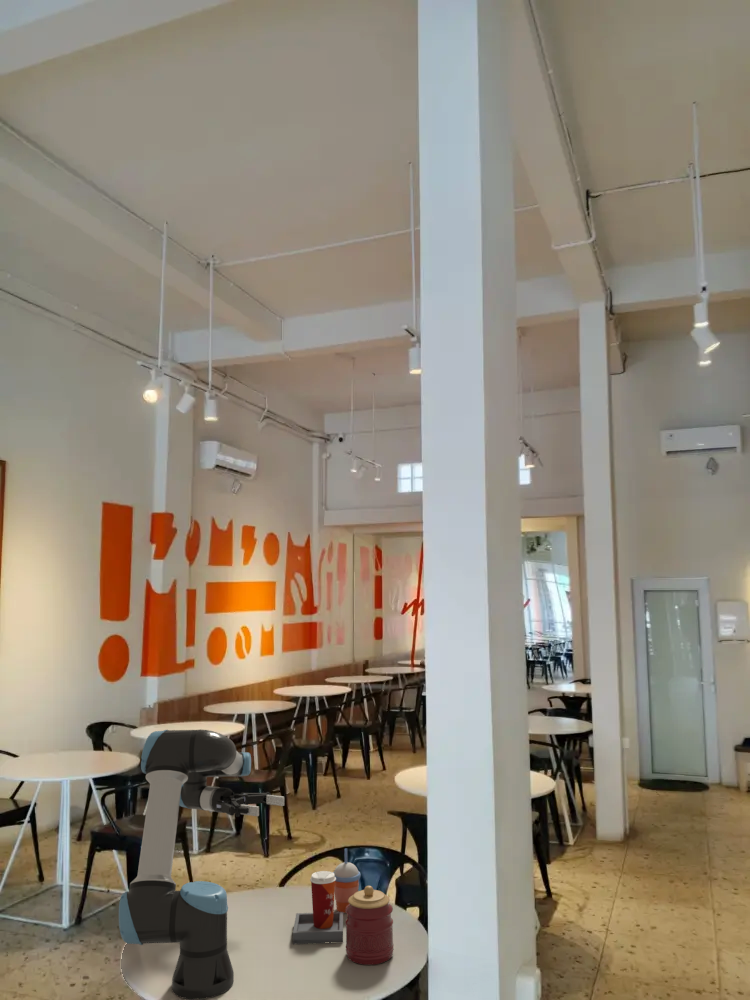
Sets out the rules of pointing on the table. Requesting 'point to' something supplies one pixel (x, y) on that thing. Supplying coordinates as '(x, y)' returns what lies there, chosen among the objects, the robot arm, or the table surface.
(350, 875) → the cup with straw
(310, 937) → the tray
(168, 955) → the table surface
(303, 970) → the table surface
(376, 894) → the canister
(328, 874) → the paper cup
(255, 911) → the table surface
